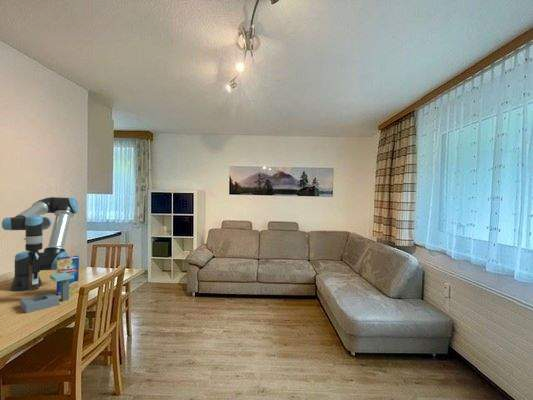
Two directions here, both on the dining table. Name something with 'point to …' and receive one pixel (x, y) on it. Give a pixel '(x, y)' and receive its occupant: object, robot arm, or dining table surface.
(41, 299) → the socket block
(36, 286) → the walnut peg
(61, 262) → the beverage box
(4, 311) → the dining table surface
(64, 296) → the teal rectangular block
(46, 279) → the dining table surface
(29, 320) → the dining table surface
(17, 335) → the dining table surface
